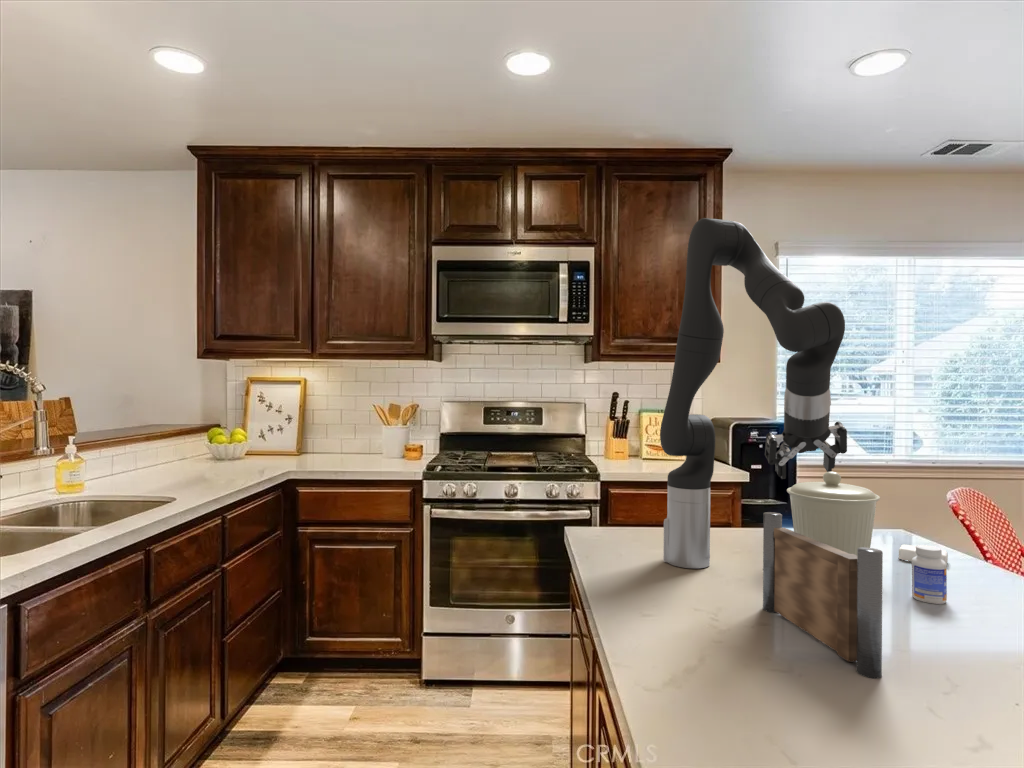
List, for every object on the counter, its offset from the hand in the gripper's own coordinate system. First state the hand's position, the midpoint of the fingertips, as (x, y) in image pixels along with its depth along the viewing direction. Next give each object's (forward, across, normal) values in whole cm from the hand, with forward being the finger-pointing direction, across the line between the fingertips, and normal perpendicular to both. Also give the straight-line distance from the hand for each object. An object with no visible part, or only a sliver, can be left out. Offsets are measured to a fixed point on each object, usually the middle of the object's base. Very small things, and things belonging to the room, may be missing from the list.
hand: (804, 472), depth 117 cm
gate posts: (+5, +10, +32) cm, 34 cm away
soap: (+38, -29, -5) cm, 48 cm away
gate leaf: (+4, +10, +31) cm, 33 cm away
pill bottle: (+21, -17, +16) cm, 32 cm away
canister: (+30, -6, 0) cm, 30 cm away
